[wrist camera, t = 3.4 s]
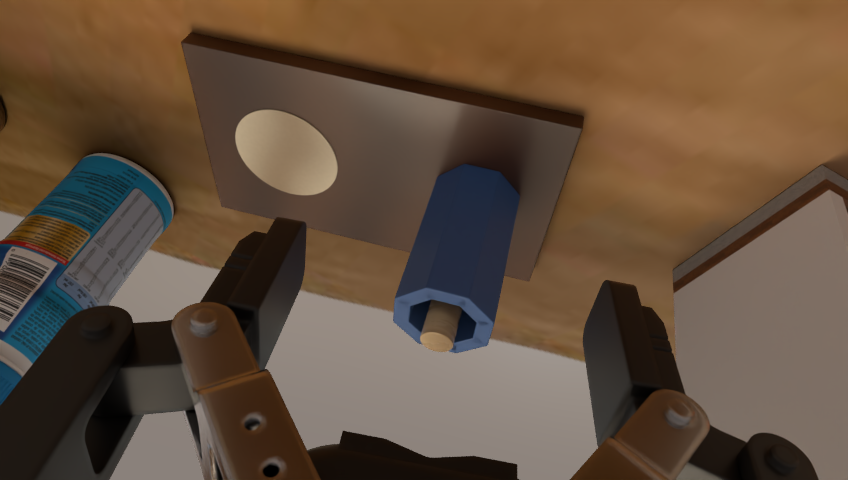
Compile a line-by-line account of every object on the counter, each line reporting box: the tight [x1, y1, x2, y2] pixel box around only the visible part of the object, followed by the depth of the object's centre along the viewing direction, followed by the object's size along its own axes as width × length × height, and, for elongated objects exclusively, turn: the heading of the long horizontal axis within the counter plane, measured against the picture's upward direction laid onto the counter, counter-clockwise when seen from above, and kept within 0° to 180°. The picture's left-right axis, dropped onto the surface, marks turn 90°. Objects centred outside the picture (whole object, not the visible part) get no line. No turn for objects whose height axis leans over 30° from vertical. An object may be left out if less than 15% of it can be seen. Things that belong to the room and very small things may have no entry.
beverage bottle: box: [0, 153, 174, 405], centre depth 43 cm, size 8×8×20 cm
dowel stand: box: [181, 33, 584, 352], centre depth 36 cm, size 24×14×12 cm, turn 85°
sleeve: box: [393, 164, 520, 353], centre depth 36 cm, size 5×5×10 cm
